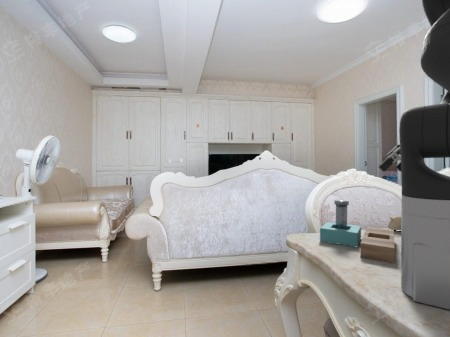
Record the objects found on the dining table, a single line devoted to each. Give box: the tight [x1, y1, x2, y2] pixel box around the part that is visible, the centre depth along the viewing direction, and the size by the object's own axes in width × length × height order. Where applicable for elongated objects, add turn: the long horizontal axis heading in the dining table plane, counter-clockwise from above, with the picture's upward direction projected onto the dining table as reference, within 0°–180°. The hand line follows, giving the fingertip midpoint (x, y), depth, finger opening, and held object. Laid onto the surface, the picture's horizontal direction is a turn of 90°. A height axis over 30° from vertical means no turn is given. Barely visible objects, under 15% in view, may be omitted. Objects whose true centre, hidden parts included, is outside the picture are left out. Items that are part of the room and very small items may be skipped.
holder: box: [319, 221, 362, 247], centre depth 76 cm, size 10×10×4 cm
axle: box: [333, 199, 350, 230], centre depth 76 cm, size 4×4×12 cm
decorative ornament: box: [387, 215, 401, 230], centre depth 87 cm, size 4×8×5 cm, turn 115°
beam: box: [360, 226, 396, 264], centre depth 68 cm, size 20×7×4 cm, turn 146°
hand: (389, 169), depth 75 cm, fingers open, 8 cm apart
